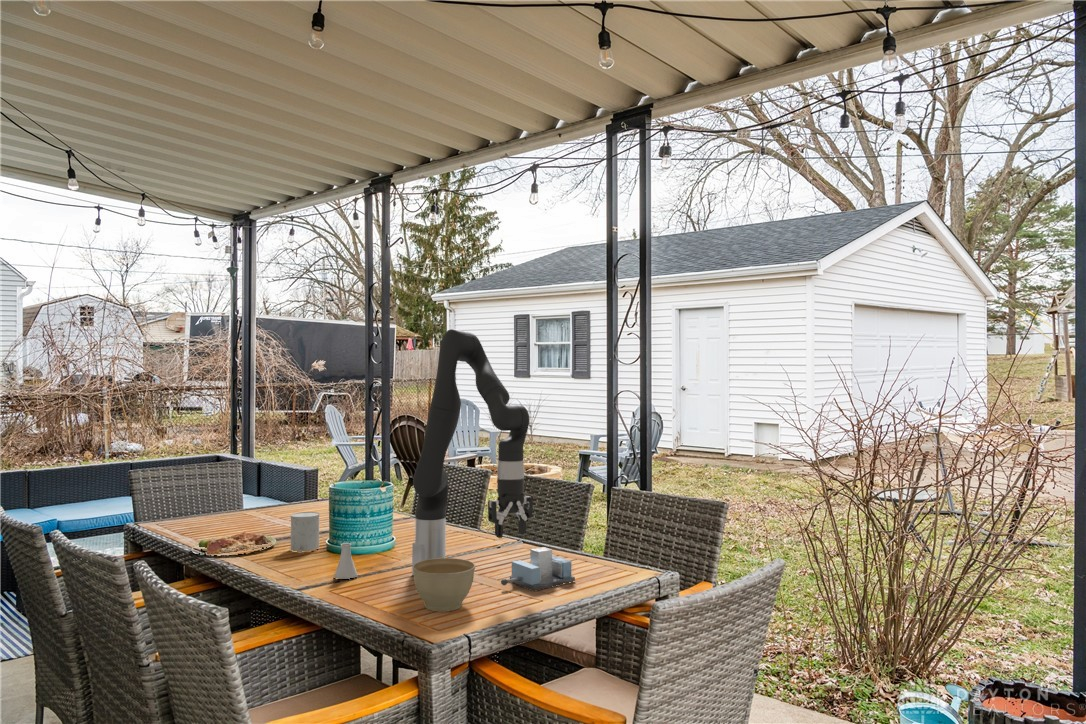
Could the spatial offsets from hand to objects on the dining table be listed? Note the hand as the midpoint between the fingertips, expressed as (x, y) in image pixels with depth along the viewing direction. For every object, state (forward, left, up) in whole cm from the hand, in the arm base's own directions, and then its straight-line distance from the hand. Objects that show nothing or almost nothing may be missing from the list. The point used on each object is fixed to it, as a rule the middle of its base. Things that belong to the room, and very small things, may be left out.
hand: (510, 535), depth 202 cm
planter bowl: (-21, 0, -16) cm, 27 cm away
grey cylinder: (-29, +84, -16) cm, 90 cm away
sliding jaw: (+4, +3, -15) cm, 15 cm away
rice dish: (-48, +101, -16) cm, 113 cm away
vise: (+13, +3, -16) cm, 21 cm away
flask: (-31, +42, -16) cm, 55 cm away
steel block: (+13, +3, -14) cm, 20 cm away
